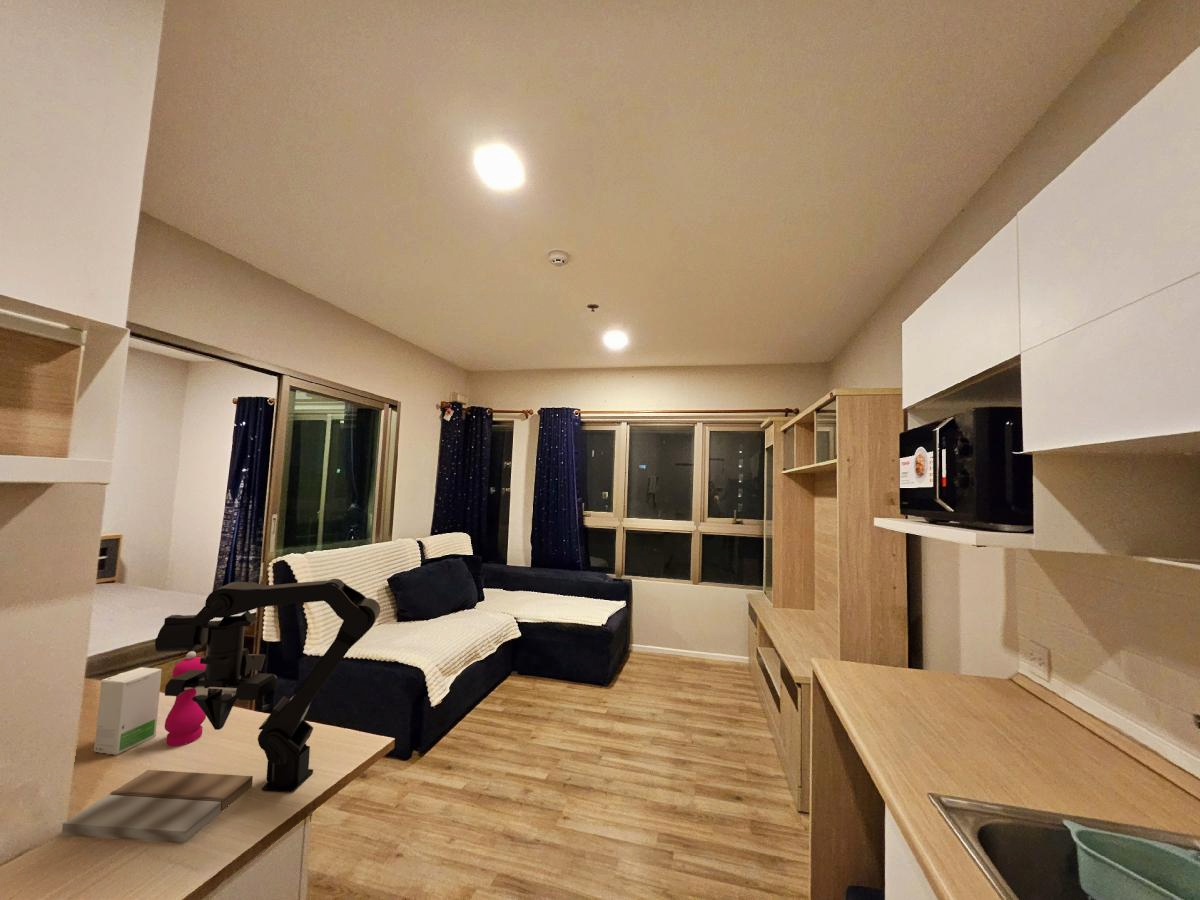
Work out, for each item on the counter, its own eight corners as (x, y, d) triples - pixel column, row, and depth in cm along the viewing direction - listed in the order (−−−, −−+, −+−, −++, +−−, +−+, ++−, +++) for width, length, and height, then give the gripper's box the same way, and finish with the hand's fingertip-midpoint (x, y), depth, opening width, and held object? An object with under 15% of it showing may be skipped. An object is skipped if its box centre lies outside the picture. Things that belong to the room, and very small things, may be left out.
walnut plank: (252, 786, 92) (252, 775, 92) (221, 811, 85) (222, 800, 85) (147, 780, 93) (148, 769, 93) (108, 804, 86) (109, 793, 86)
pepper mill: (155, 750, 102) (162, 658, 104) (175, 732, 109) (182, 647, 111) (193, 746, 104) (200, 656, 106) (211, 728, 111) (217, 645, 113)
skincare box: (115, 756, 100) (122, 683, 101) (90, 753, 101) (97, 680, 102) (158, 735, 108) (163, 668, 109) (134, 732, 109) (140, 665, 110)
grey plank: (220, 813, 84) (221, 801, 85) (184, 843, 78) (185, 831, 78) (107, 805, 85) (108, 794, 86) (61, 835, 78) (62, 823, 79)
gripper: (298, 636, 99) (293, 710, 98) (215, 632, 100) (210, 705, 99) (258, 656, 88) (252, 740, 87) (165, 651, 89) (158, 734, 88)
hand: (219, 728), depth 91 cm, fingers closed
